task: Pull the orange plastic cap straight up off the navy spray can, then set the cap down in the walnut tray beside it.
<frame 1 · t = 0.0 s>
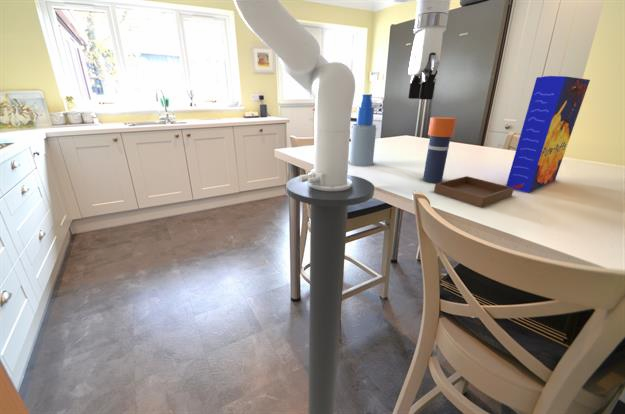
hand: (419, 98, 77), 24 cm above the table, tool pointing down, fingers open, 9 cm apart
grey and blue bottle: (361, 163, 110), on the table
cereal box: (531, 184, 88), on the table
tray: (471, 194, 78), on the table
cap: (440, 135, 84), point 14 cm above the table, touching spray can
spray can: (432, 180, 89), on the table, touching cap
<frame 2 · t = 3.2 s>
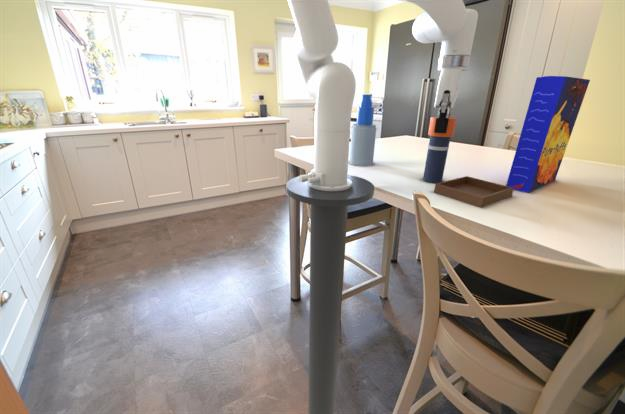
hand: (441, 130, 84), 15 cm above the table, tool pointing down, fingers closed on cap, 7 cm apart
cap: (440, 135, 84), point 14 cm above the table, touching gripper, spray can
everything else where it was.
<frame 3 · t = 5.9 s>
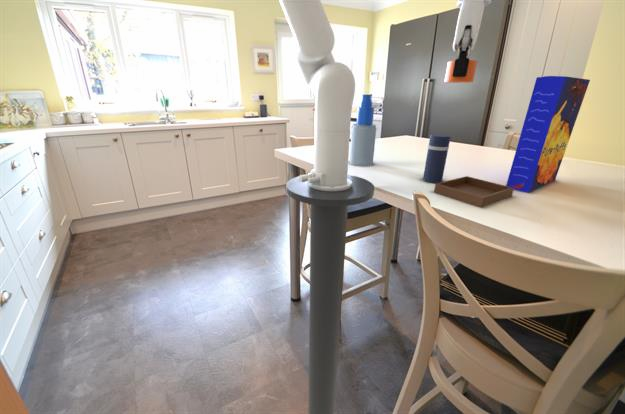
hand: (459, 76, 76), 30 cm above the table, tool pointing down, fingers closed on cap, 7 cm apart
cap: (458, 82, 76), point 28 cm above the table, touching gripper
spray can: (432, 180, 89), on the table
everything else where it was.
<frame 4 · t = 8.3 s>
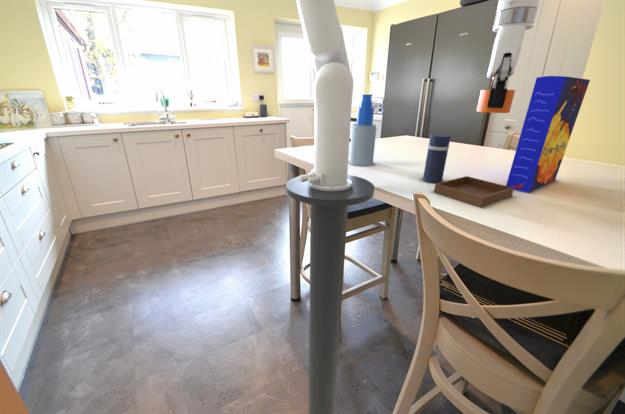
hand: (493, 106, 69), 23 cm above the table, tool pointing down, fingers closed on cap, 7 cm apart
cap: (492, 112, 69), point 22 cm above the table, touching gripper
everything else where it was.
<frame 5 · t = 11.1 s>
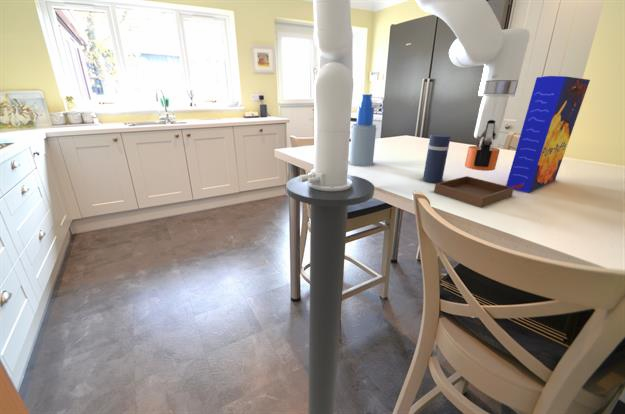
hand: (480, 162, 74), 9 cm above the table, tool pointing down, fingers closed on cap, 7 cm apart
cap: (479, 167, 75), point 8 cm above the table, touching gripper
everything else where it was.
when the fingers open (2 cm above the table, at t = 13.5 s): cap stays where it is, resting on tray.
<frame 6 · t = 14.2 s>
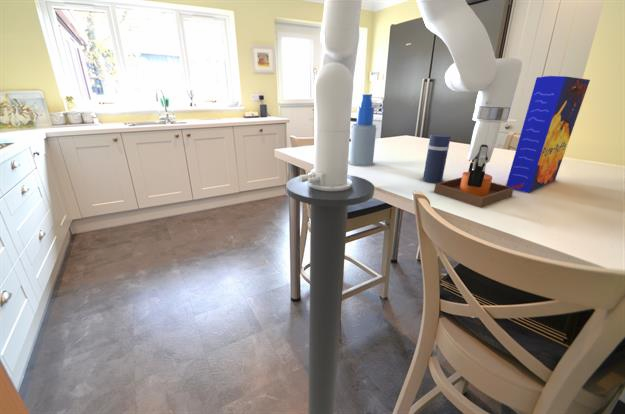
hand: (473, 181, 76), 4 cm above the table, tool pointing down, fingers open, 9 cm apart
cap: (473, 192, 77), resting on tray
everything else where it was.
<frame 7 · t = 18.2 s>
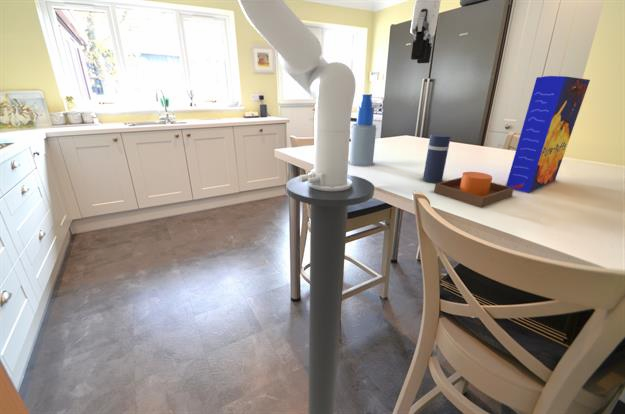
hand: (420, 61, 74), 33 cm above the table, tool pointing down, fingers open, 9 cm apart
nothing on the table moved.
at the end: cap inside the target area in the tray (0.1 cm from its centre), point 0.5 cm above the tray's base; cap tilted 0°; spray can tilted 0° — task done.
